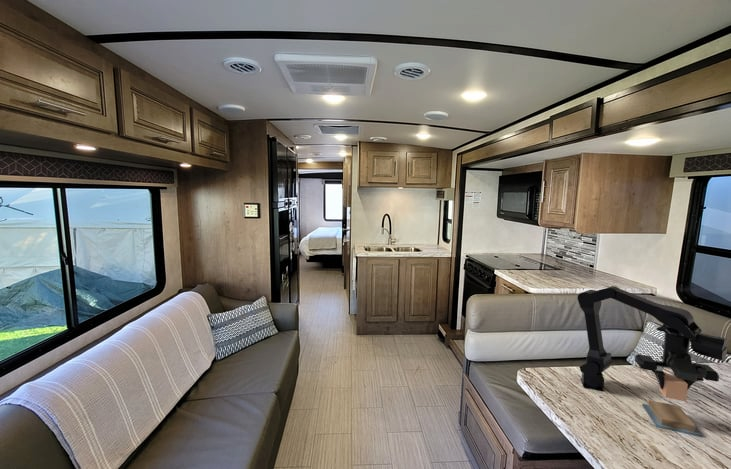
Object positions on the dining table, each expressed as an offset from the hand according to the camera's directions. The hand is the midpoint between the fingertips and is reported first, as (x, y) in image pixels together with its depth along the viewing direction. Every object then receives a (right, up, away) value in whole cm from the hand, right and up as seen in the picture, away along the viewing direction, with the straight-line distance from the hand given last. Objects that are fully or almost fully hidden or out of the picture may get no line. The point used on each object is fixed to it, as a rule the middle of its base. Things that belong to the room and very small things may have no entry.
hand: (672, 390), depth 98 cm
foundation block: (0, -11, +1) cm, 11 cm away
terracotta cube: (0, -2, 0) cm, 2 cm away
